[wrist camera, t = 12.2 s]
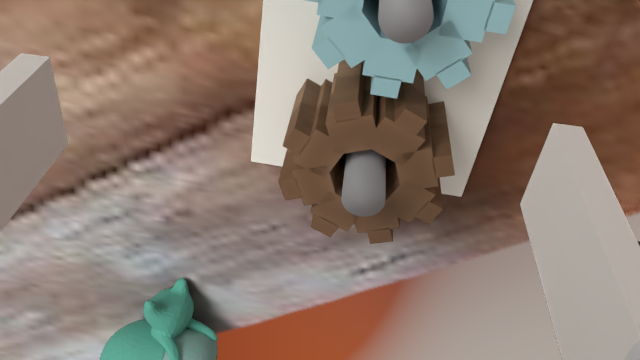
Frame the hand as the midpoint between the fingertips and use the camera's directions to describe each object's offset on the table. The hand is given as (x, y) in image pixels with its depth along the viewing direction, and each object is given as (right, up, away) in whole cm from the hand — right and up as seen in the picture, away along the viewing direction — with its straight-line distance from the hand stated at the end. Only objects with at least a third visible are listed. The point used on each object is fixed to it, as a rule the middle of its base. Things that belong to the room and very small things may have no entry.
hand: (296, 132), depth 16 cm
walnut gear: (+4, +2, +22) cm, 23 cm away
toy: (-13, -10, +33) cm, 37 cm away
